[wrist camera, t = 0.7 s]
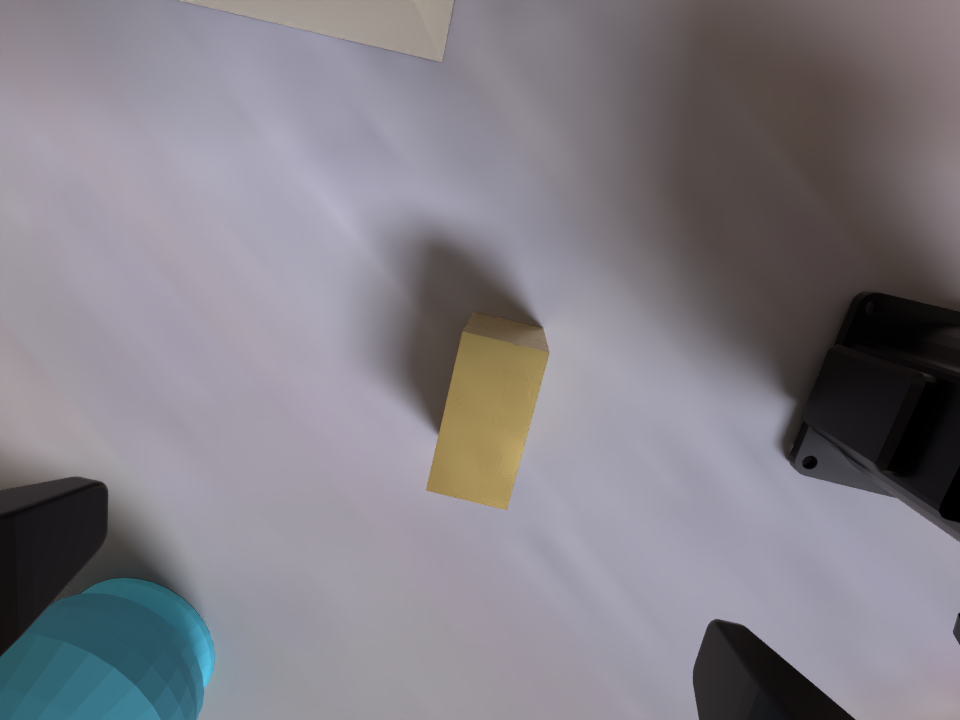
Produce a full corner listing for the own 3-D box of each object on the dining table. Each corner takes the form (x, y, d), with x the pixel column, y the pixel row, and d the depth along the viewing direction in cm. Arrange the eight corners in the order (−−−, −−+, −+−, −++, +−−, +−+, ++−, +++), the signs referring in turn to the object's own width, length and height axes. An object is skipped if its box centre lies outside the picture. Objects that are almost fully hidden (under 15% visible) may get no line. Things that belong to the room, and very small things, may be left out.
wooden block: (543, 328, 19) (549, 352, 15) (509, 456, 20) (506, 510, 16) (474, 311, 19) (462, 331, 15) (443, 440, 20) (426, 490, 16)
